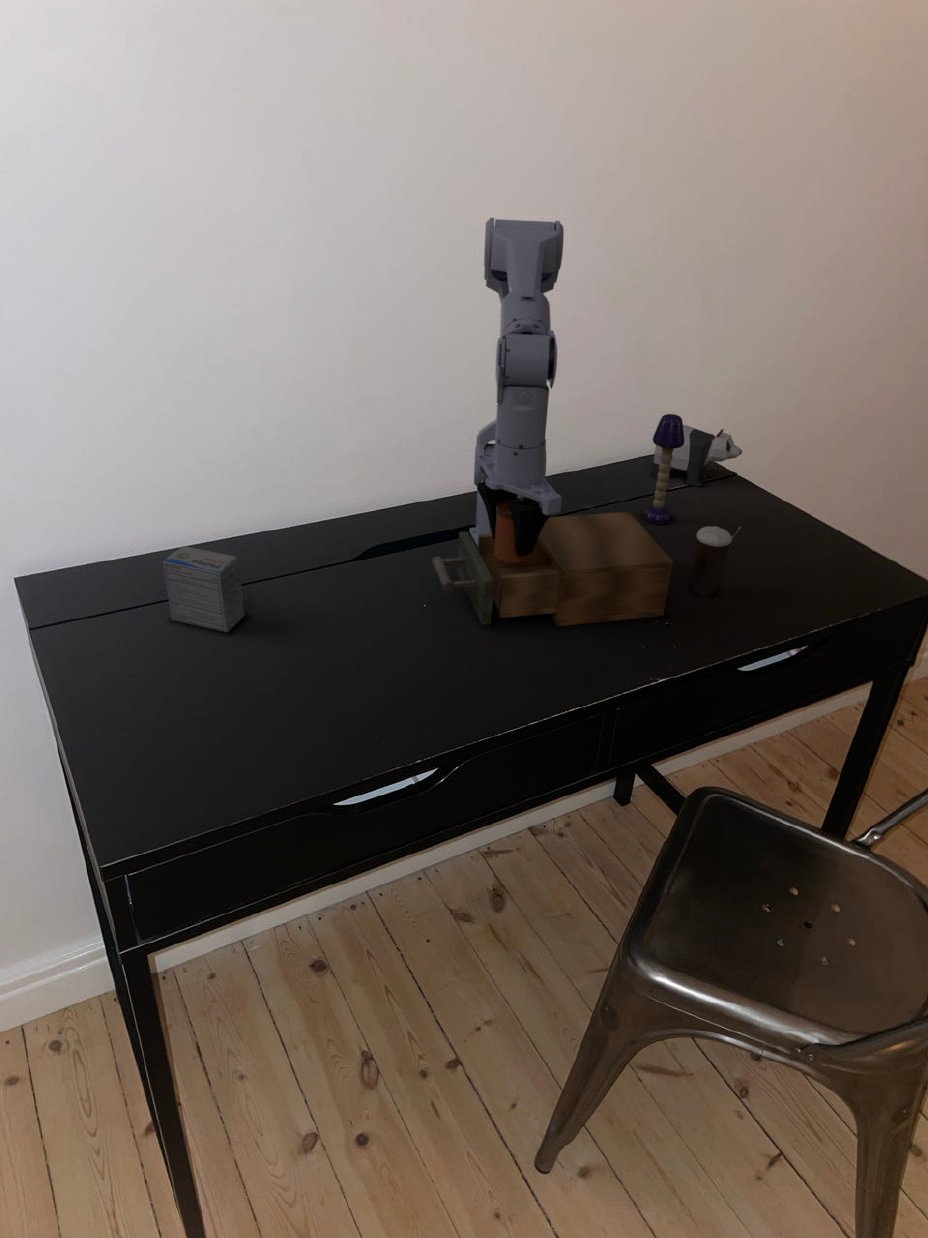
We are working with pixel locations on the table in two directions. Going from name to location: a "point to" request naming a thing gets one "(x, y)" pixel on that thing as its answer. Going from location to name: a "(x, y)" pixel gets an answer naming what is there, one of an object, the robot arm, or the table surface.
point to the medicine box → (204, 588)
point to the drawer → (502, 579)
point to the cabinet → (605, 568)
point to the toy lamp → (665, 464)
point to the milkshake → (710, 558)
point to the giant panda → (698, 453)
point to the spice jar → (506, 533)
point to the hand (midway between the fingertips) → (512, 545)
